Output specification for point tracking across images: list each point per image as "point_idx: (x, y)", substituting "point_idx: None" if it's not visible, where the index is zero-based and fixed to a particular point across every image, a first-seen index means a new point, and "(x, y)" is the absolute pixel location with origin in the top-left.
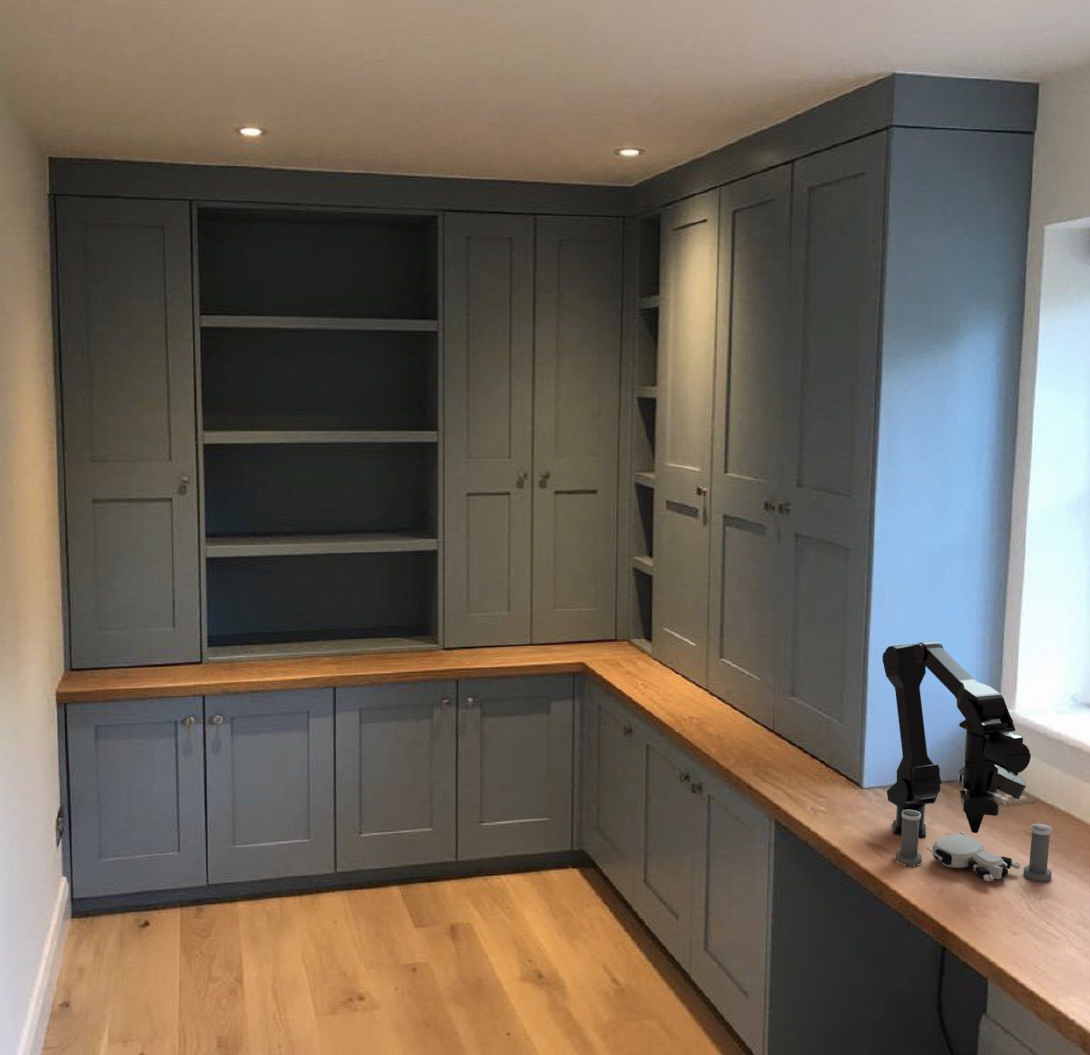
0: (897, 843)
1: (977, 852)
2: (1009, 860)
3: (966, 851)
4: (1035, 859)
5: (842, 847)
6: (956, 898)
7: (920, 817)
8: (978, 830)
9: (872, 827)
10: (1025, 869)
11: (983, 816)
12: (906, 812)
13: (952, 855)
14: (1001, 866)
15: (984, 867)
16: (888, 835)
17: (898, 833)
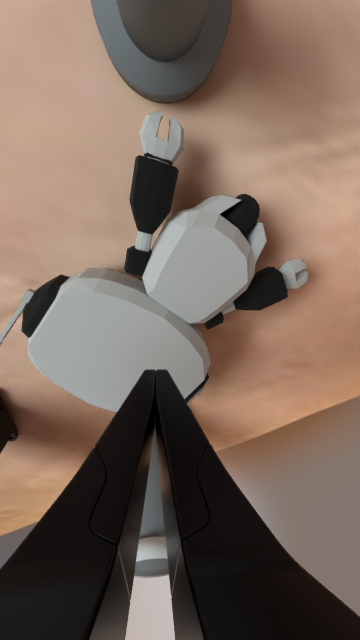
0: (68, 428)
1: (159, 309)
2: (169, 174)
3: (175, 346)
4: None
5: None
6: (337, 341)
7: (162, 544)
8: (170, 377)
9: (7, 460)
10: (164, 85)
11: (227, 473)
12: (152, 573)
13: (205, 377)
14: (246, 225)
15: (256, 289)
16: (32, 440)
17: (15, 431)
